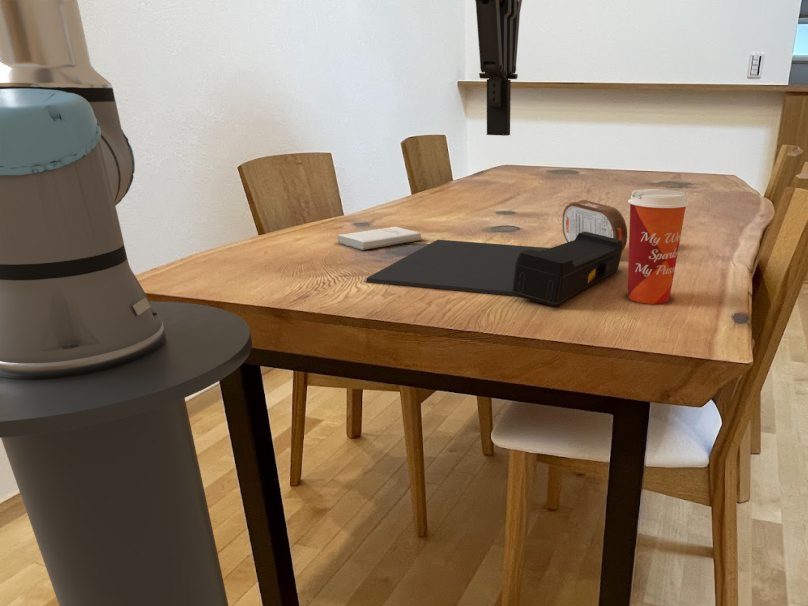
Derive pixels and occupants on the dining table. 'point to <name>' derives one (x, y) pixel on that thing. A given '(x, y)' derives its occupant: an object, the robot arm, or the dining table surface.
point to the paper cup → (654, 243)
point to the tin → (593, 221)
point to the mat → (457, 267)
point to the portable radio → (565, 268)
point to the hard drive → (378, 238)
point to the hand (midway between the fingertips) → (498, 134)
